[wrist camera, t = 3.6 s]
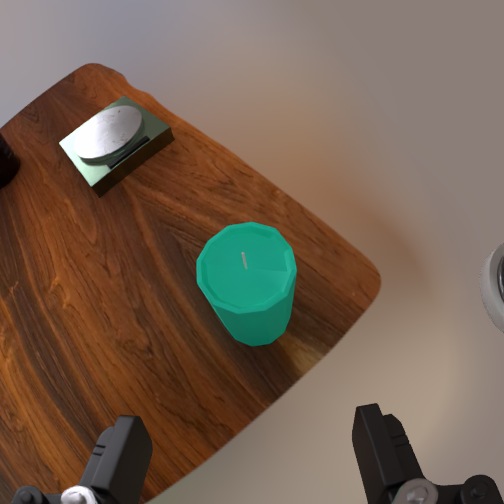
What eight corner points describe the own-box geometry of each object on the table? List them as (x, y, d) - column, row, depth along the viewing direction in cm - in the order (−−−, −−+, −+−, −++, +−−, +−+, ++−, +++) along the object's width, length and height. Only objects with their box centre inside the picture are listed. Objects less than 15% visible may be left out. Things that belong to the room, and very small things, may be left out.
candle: (237, 357, 27) (209, 324, 16) (213, 296, 29) (176, 230, 19) (301, 329, 27) (317, 278, 17) (273, 271, 30) (270, 193, 19)
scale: (174, 139, 39) (168, 121, 36) (99, 198, 36) (88, 182, 33) (129, 106, 44) (122, 91, 41) (66, 153, 41) (56, 139, 38)
